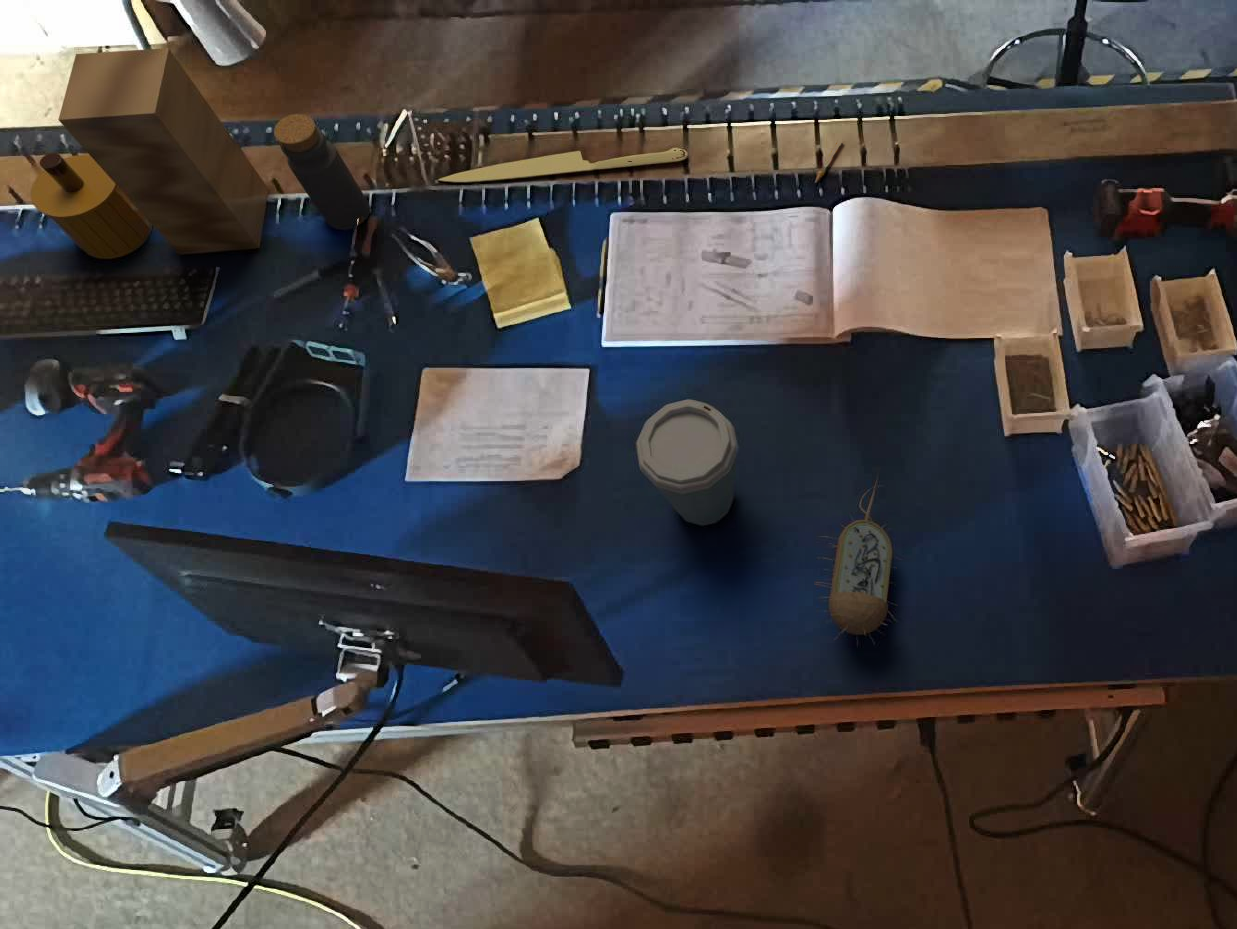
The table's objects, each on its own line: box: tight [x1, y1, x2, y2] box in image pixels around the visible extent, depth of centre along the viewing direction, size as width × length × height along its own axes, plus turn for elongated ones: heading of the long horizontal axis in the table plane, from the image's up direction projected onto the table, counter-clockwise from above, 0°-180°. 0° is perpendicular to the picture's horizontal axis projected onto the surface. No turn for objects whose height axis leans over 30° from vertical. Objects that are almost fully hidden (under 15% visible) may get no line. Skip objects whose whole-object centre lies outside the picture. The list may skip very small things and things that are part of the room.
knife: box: [437, 147, 689, 183], centre depth 144 cm, size 1×34×5 cm
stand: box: [58, 47, 270, 255], centre depth 128 cm, size 10×10×23 cm
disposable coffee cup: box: [635, 398, 739, 526], centre depth 117 cm, size 11×11×15 cm
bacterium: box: [815, 467, 903, 647], centre depth 116 cm, size 11×20×10 cm, turn 174°
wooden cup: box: [48, 187, 154, 260], centre depth 134 cm, size 9×9×8 cm
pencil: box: [814, 170, 826, 184], centre depth 145 cm, size 1×8×1 cm, turn 157°
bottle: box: [273, 113, 371, 231], centre depth 133 cm, size 6×6×15 cm
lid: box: [30, 152, 118, 219], centre depth 128 cm, size 10×10×5 cm
